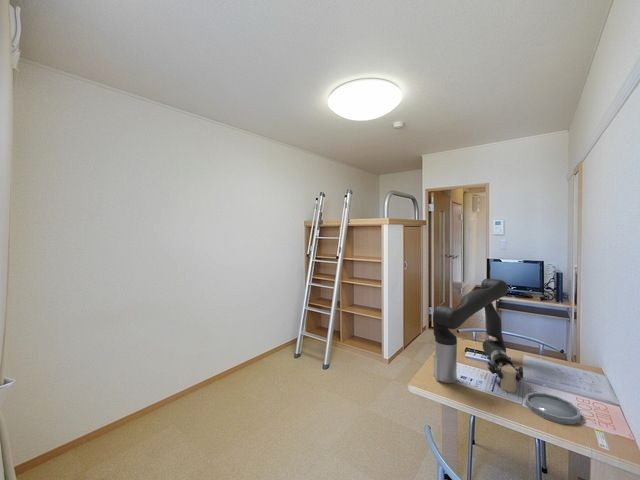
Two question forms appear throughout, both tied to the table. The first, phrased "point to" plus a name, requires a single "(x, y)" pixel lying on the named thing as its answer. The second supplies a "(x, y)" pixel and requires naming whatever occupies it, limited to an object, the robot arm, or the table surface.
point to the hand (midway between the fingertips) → (510, 378)
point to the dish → (553, 408)
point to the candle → (508, 378)
